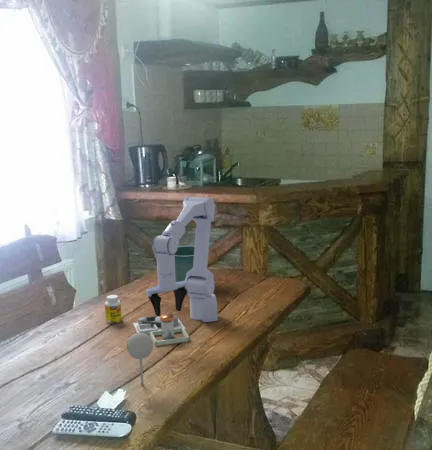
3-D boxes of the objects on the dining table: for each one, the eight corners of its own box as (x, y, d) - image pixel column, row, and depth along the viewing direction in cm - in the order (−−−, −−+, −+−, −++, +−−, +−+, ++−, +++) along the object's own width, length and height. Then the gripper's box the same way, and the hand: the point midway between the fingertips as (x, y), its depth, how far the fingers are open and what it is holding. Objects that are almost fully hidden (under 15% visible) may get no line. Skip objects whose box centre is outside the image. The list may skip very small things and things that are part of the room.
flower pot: (206, 293, 246) (205, 255, 243) (166, 294, 247) (164, 256, 243) (207, 281, 262) (206, 245, 259) (169, 282, 263) (168, 246, 259)
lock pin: (170, 335, 202) (169, 312, 200) (177, 339, 198) (176, 316, 197) (158, 339, 199) (157, 316, 197) (166, 343, 195) (164, 319, 194)
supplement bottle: (110, 327, 212) (108, 300, 210) (103, 323, 216) (101, 296, 214) (124, 324, 215) (122, 296, 213) (118, 319, 219) (116, 292, 217)
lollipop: (130, 379, 172) (126, 329, 169) (155, 377, 173) (152, 328, 170) (128, 391, 165) (125, 339, 162) (154, 389, 166) (152, 337, 163)
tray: (182, 334, 204) (182, 327, 204) (189, 344, 195) (189, 337, 195) (150, 338, 201) (149, 331, 200) (155, 349, 192) (155, 342, 192)
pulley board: (177, 320, 217) (177, 309, 216) (185, 332, 206) (185, 321, 205) (133, 326, 212) (132, 315, 212) (139, 338, 201) (138, 327, 200)
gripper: (179, 265, 201) (181, 304, 203) (140, 274, 193) (142, 314, 195) (190, 270, 195) (192, 310, 198) (150, 279, 187) (153, 320, 190)
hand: (168, 312), depth 196 cm, fingers open, 7 cm apart
